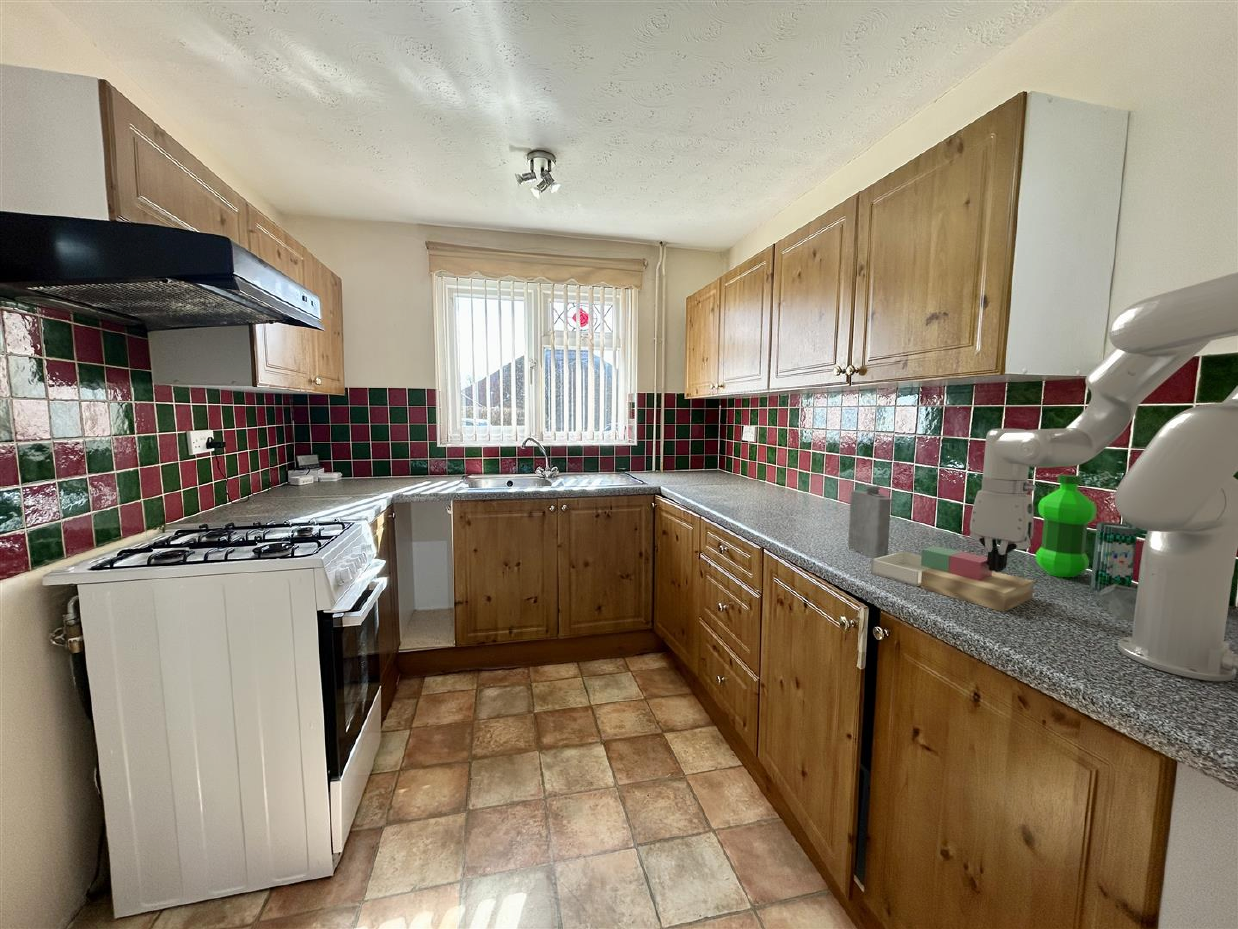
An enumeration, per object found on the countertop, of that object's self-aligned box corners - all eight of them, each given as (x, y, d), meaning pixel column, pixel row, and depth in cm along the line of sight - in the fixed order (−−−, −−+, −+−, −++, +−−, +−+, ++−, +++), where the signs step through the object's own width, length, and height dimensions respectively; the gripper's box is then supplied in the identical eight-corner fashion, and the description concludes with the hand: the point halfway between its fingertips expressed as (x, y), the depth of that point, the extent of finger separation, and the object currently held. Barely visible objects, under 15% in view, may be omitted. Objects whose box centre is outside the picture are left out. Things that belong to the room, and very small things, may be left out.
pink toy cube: (991, 575, 108) (993, 558, 107) (979, 580, 105) (980, 562, 104) (961, 568, 113) (962, 552, 112) (948, 572, 110) (949, 555, 109)
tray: (946, 576, 119) (947, 562, 119) (916, 586, 112) (917, 571, 112) (901, 564, 129) (902, 551, 128) (870, 573, 122) (871, 559, 121)
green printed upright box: (1098, 592, 109) (1105, 527, 107) (1086, 583, 114) (1093, 521, 113) (1135, 596, 106) (1143, 529, 105) (1120, 587, 112) (1128, 524, 110)
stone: (1190, 632, 92) (1152, 599, 100) (1195, 615, 90) (1156, 583, 99) (1119, 630, 95) (1088, 598, 104) (1123, 613, 93) (1091, 582, 102)
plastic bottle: (1091, 584, 114) (1102, 479, 111) (1032, 575, 121) (1041, 475, 118) (1087, 574, 121) (1097, 475, 119) (1032, 565, 128) (1041, 472, 126)
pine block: (1032, 598, 105) (1033, 580, 105) (1003, 612, 98) (1005, 593, 97) (951, 577, 119) (952, 561, 118) (920, 587, 111) (921, 571, 111)
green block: (961, 568, 113) (962, 551, 112) (948, 572, 110) (949, 555, 109) (934, 562, 118) (935, 546, 118) (920, 565, 115) (921, 549, 115)
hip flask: (845, 547, 146) (849, 481, 144) (858, 547, 146) (862, 481, 144) (878, 563, 130) (882, 490, 128) (892, 563, 130) (897, 490, 128)
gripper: (1056, 490, 98) (1046, 577, 100) (972, 481, 111) (965, 558, 113) (1040, 493, 94) (1031, 584, 96) (956, 483, 107) (949, 563, 109)
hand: (996, 570), depth 105 cm, fingers closed
